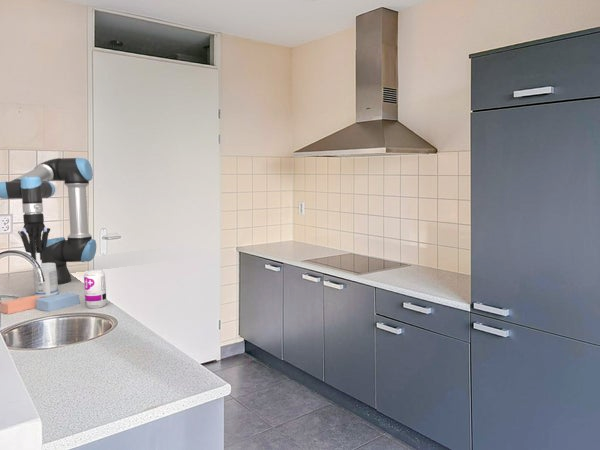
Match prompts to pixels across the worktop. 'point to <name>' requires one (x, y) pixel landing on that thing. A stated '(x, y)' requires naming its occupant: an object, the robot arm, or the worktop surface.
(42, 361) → the worktop surface
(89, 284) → the supplement can
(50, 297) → the blue rectangular block
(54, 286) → the supplement tub
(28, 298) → the orange rectangular block
